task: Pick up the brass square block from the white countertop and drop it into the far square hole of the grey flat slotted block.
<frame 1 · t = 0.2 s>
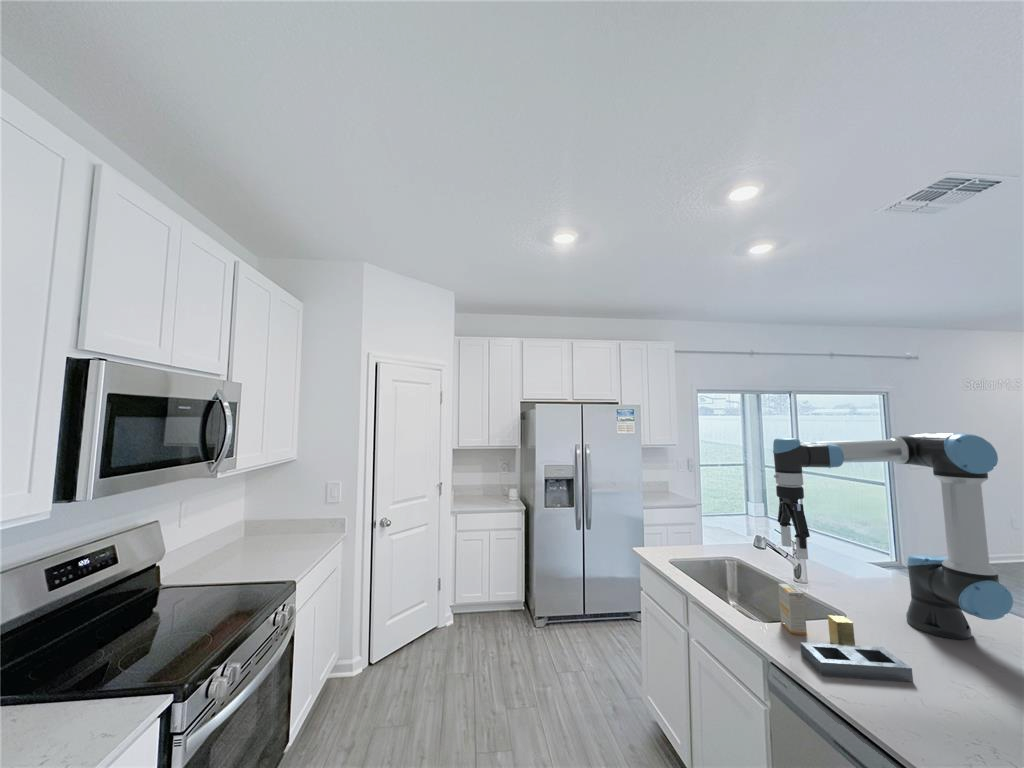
hand: (794, 552, 134), 27 cm above the countertop, fingers open, 13 cm apart
grey flat slotted block: (853, 667, 116), on the countertop
supplement box: (793, 629, 139), on the countertop
brass block: (842, 646, 128), on the countertop
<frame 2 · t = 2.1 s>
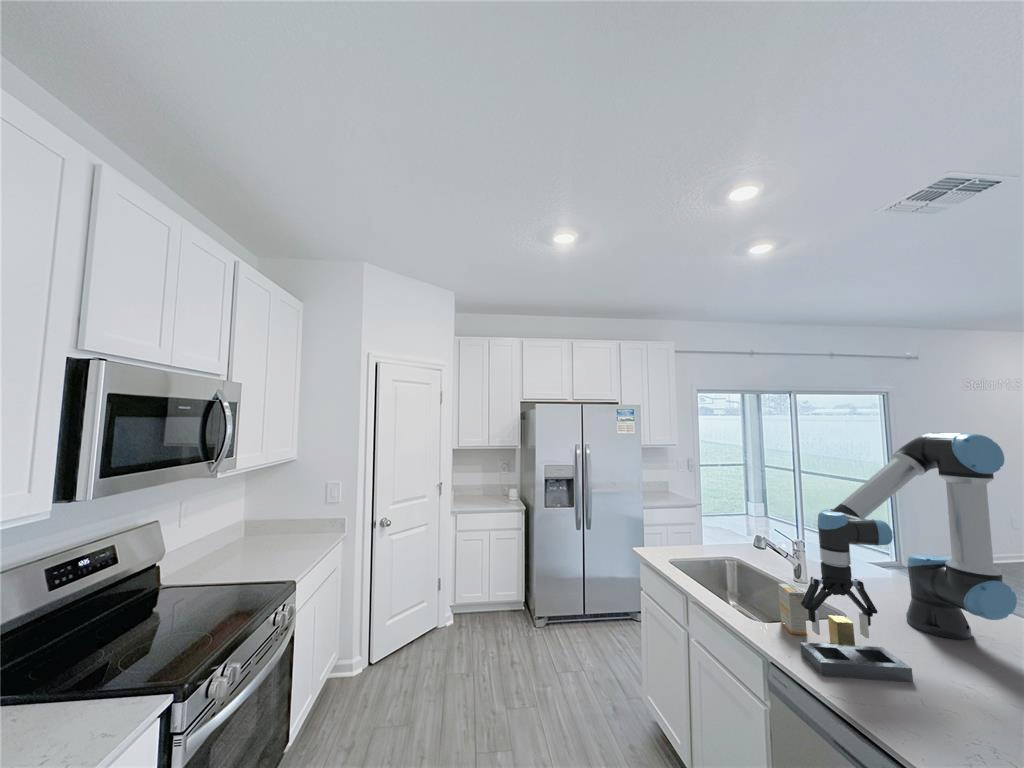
hand: (840, 634, 128), 3 cm above the countertop, fingers open, 13 cm apart
nothing on the countertop moved.
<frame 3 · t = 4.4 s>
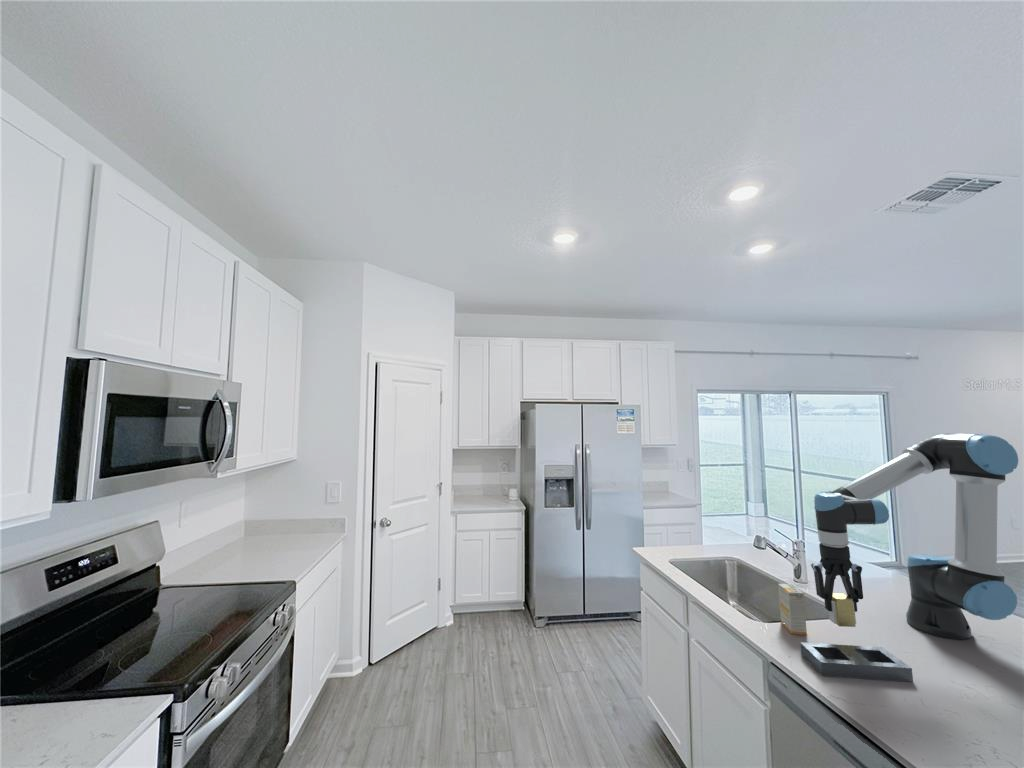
hand: (842, 621, 128), 7 cm above the countertop, fingers closed on brass block, 4 cm apart
brass block: (842, 623, 128), point 7 cm above the countertop, touching gripper
everything else where it was.
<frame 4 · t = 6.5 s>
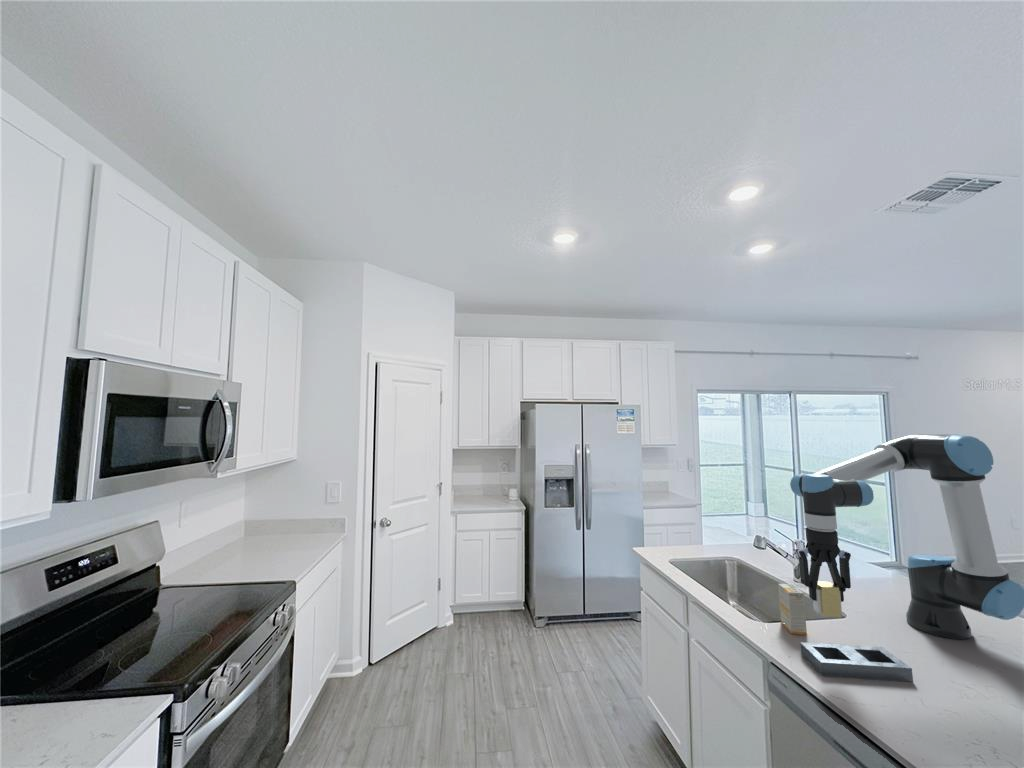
hand: (827, 612, 119), 15 cm above the countertop, fingers closed on brass block, 4 cm apart
brass block: (827, 613, 119), point 14 cm above the countertop, touching gripper
everything else where it was.
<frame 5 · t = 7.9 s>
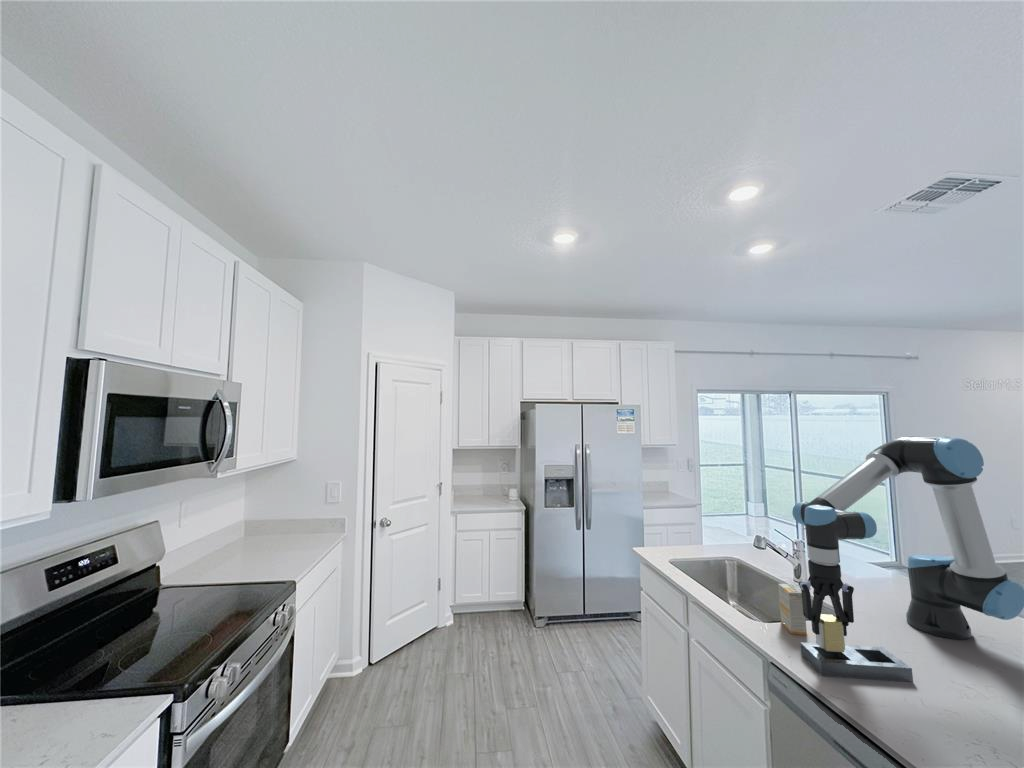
hand: (830, 646, 118), 5 cm above the countertop, fingers closed on brass block, 4 cm apart
brass block: (830, 647, 118), point 5 cm above the countertop, touching gripper
everything else where it was.
when the fingers open (4 cm above the countertop, at t = 8.9 s): brass block drops 4 cm, resting in grey flat slotted block.
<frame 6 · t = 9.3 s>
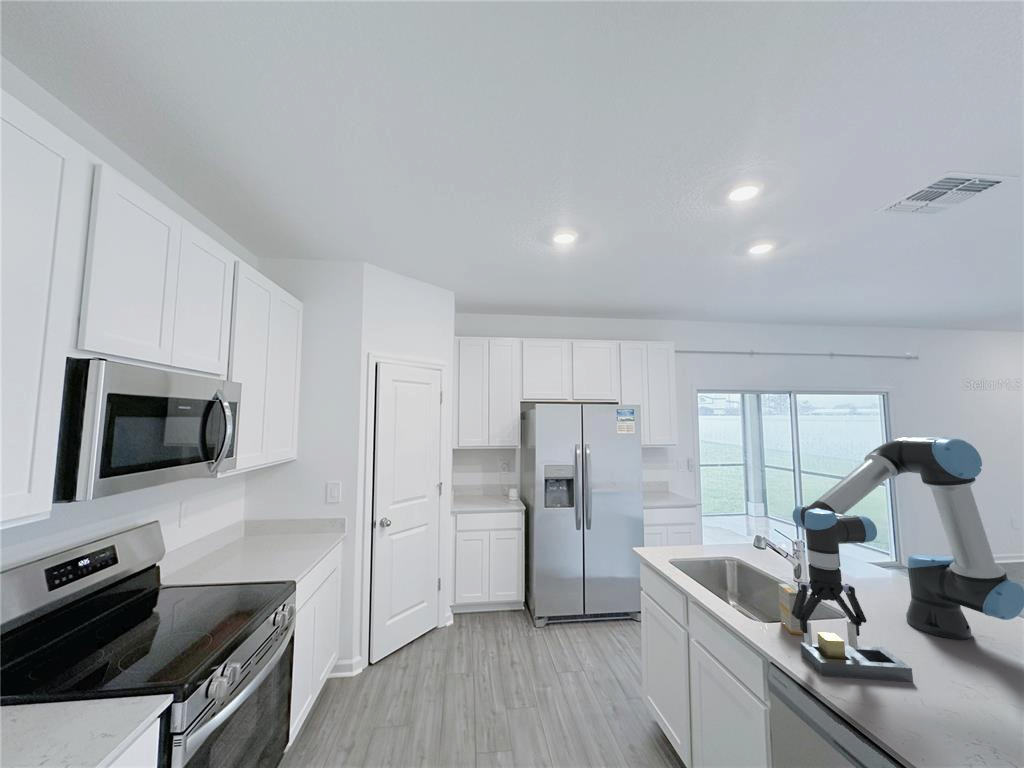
hand: (830, 645, 118), 5 cm above the countertop, fingers open, 11 cm apart
brass block: (832, 666, 117), resting in grey flat slotted block
everything else where it was.
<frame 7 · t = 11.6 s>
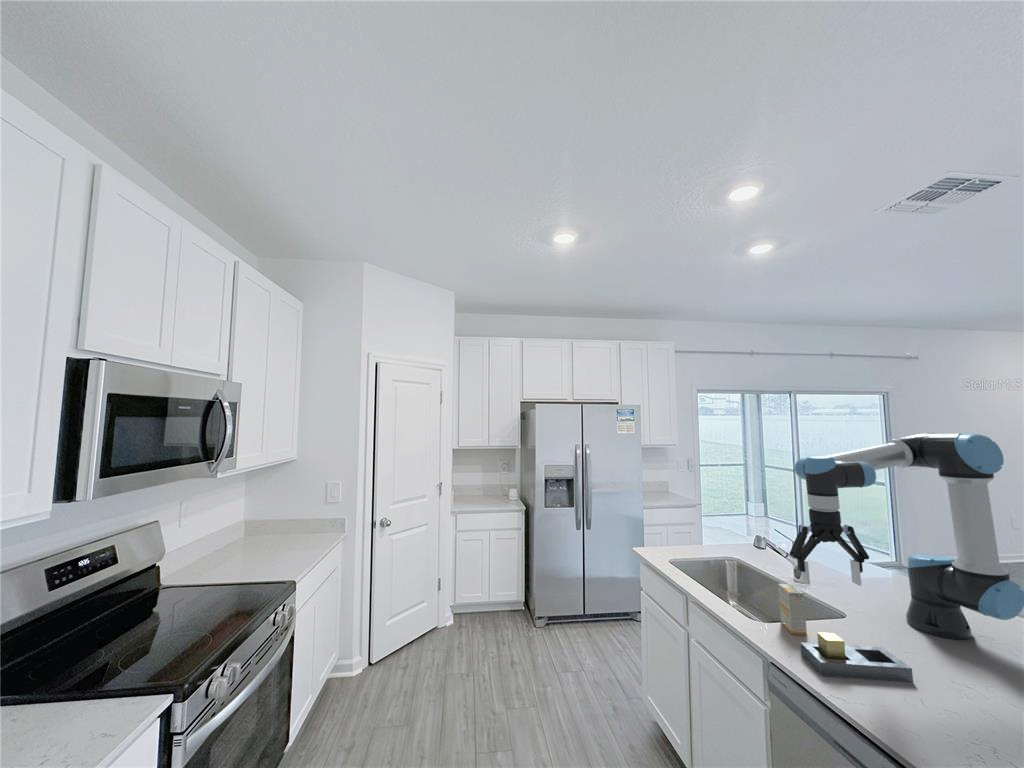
hand: (831, 583, 121), 22 cm above the countertop, fingers open, 13 cm apart
nothing on the countertop moved.
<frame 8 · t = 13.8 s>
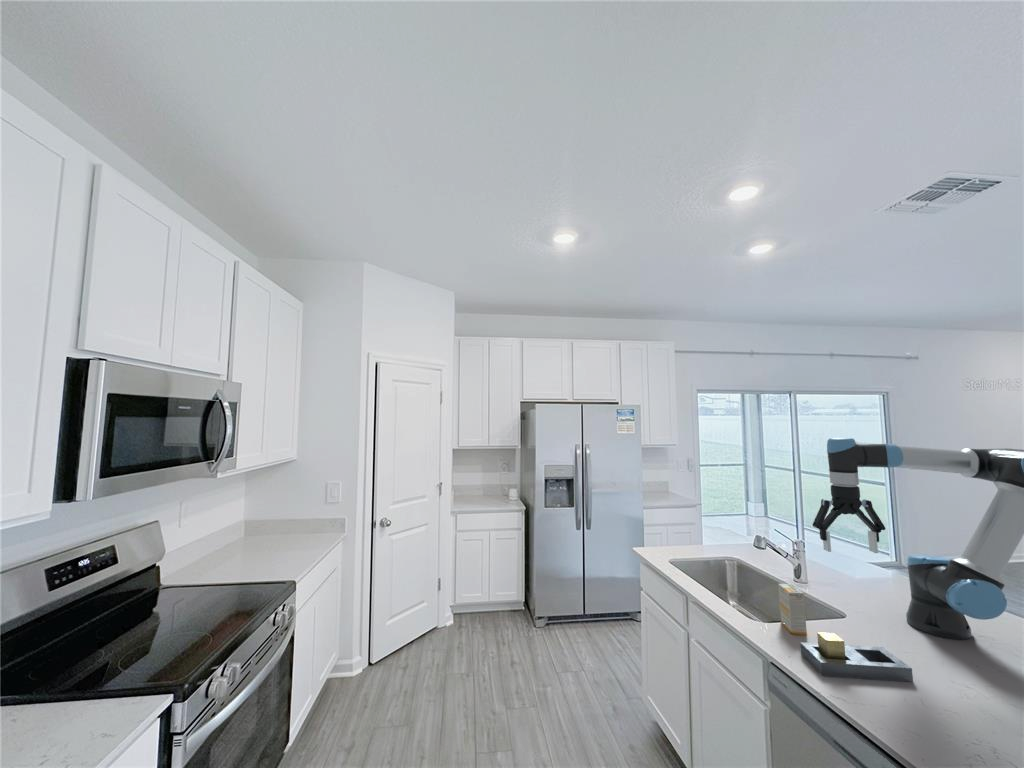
hand: (850, 551, 135), 27 cm above the countertop, fingers open, 13 cm apart
nothing on the countertop moved.
at the end: brass block 0.1 cm from the target spot on the grey flat slotted block, point 0.0 cm above the grey flat slotted block's base; brass block tilted 0°; the gripper is holding nothing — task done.
